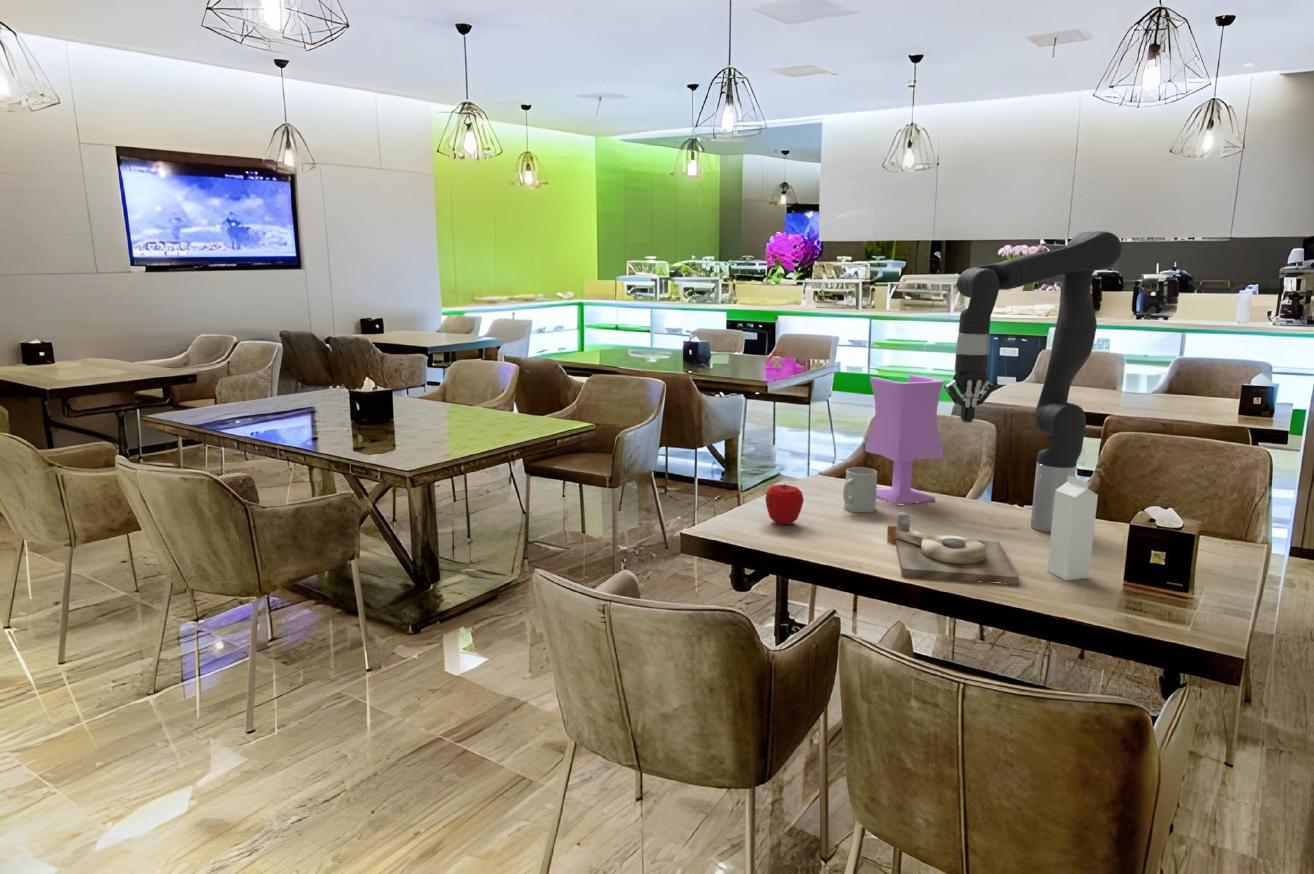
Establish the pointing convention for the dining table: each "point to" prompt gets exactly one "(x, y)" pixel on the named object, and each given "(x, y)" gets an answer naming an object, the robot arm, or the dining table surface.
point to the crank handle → (941, 544)
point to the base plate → (922, 566)
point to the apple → (784, 503)
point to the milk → (1072, 530)
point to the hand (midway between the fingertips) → (966, 421)
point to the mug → (860, 489)
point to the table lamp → (905, 431)
